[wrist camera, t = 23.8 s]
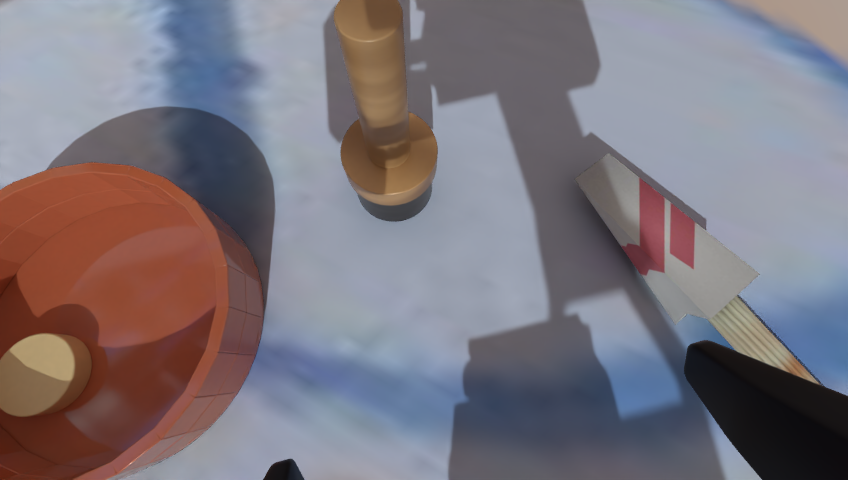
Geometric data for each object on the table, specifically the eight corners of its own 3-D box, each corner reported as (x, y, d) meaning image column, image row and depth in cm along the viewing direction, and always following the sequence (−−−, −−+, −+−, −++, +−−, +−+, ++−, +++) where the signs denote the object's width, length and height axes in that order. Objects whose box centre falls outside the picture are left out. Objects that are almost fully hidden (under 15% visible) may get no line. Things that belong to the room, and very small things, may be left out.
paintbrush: (628, 135, 23) (927, 451, 19) (606, 157, 26) (864, 439, 22) (577, 172, 22) (877, 508, 18) (559, 191, 25) (818, 489, 21)
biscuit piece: (60, 427, 21) (40, 431, 20) (-3, 395, 21) (-27, 396, 20) (108, 352, 22) (90, 351, 21) (46, 323, 22) (26, 320, 21)
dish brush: (419, 235, 25) (415, 98, 12) (341, 209, 25) (261, 52, 13) (445, 164, 26) (466, -24, 14) (371, 141, 26) (326, -61, 14)
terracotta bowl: (176, 527, 20) (108, 571, 16) (-79, 411, 22) (-204, 421, 17) (308, 246, 24) (284, 220, 20) (88, 166, 26) (21, 125, 22)
